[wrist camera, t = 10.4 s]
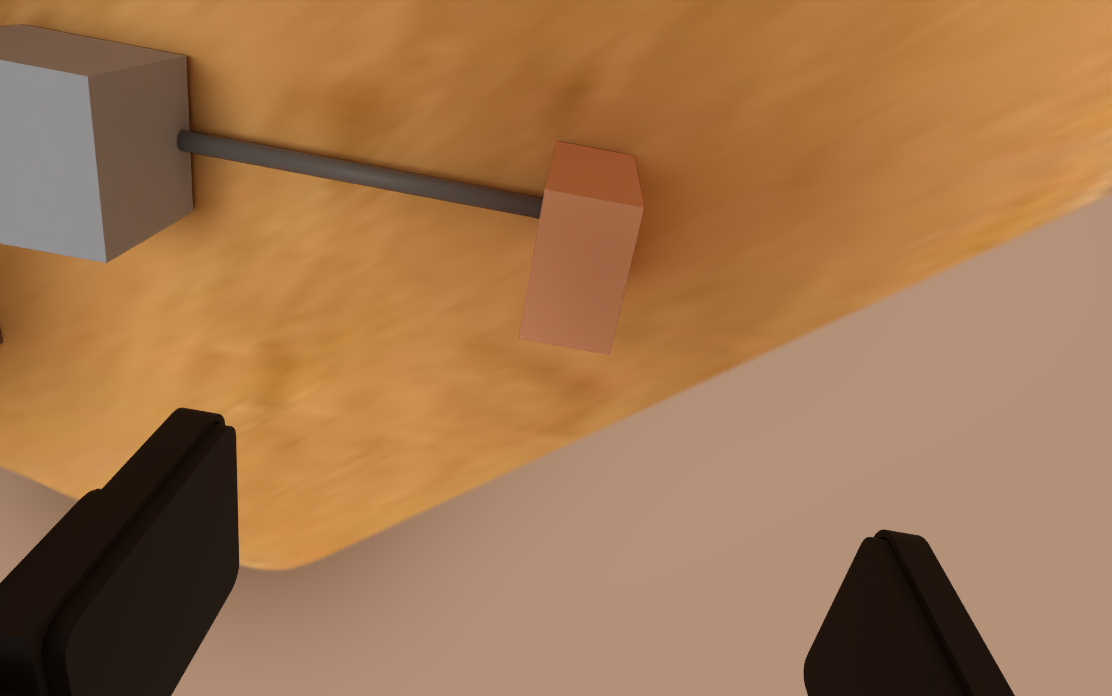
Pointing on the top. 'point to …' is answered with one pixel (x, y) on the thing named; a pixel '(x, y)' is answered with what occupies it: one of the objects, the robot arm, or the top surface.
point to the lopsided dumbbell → (166, 181)
